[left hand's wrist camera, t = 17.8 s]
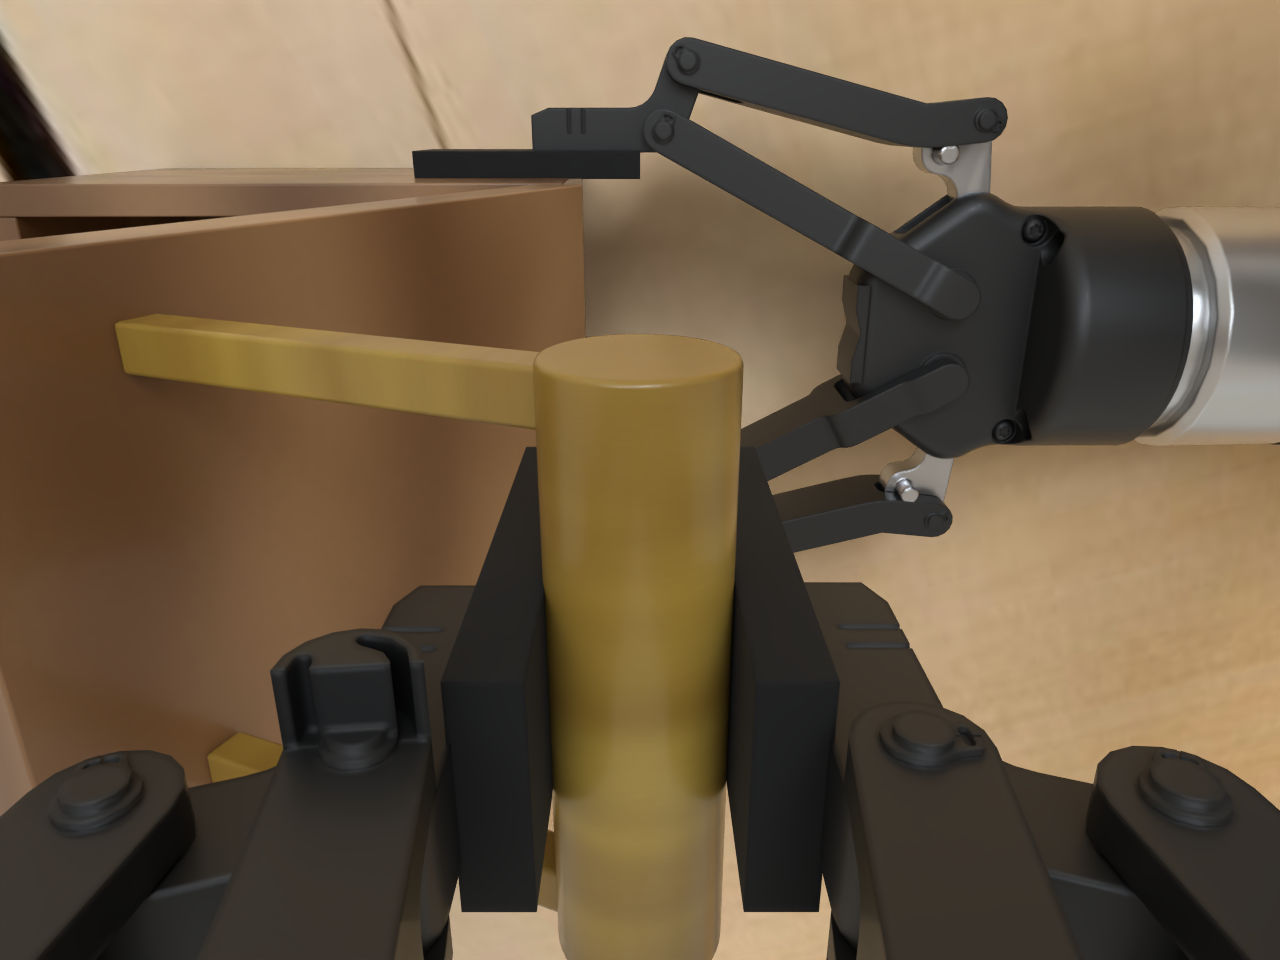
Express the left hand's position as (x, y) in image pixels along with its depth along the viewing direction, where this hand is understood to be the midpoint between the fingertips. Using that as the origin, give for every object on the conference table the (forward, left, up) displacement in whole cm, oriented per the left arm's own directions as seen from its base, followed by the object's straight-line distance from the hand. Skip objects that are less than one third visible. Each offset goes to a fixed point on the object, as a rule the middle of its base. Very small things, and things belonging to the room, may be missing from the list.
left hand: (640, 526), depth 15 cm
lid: (-5, -2, -4) cm, 7 cm away
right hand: (-6, -2, -15) cm, 17 cm away
